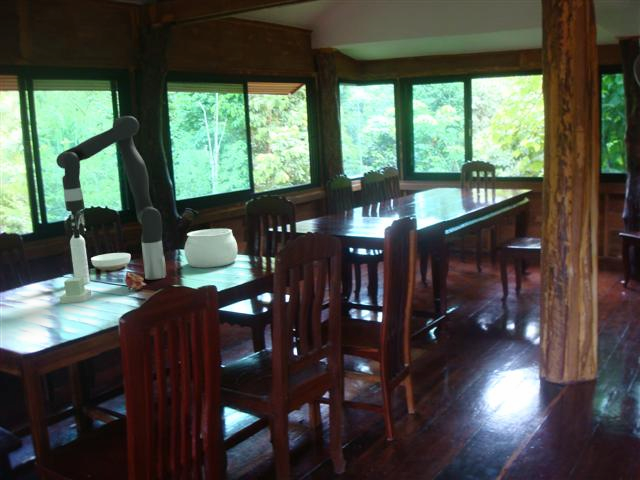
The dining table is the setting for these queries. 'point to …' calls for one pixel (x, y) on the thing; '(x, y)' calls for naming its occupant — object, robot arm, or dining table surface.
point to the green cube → (74, 286)
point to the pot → (210, 248)
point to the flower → (133, 281)
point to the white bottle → (79, 258)
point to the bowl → (111, 261)
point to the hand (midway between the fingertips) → (79, 236)
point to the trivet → (75, 297)
